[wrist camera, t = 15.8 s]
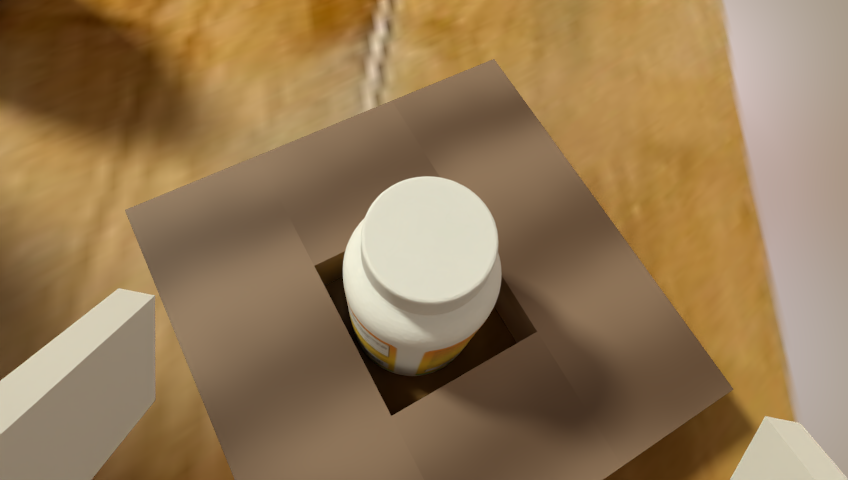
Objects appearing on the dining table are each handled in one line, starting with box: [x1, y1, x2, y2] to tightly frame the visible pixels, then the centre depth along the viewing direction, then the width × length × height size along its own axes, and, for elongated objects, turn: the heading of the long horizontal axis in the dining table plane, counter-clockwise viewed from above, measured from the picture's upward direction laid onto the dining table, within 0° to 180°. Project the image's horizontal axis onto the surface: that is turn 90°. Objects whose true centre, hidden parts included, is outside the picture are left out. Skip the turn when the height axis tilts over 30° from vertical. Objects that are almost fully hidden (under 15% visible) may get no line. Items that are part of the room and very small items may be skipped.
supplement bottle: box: [343, 176, 502, 376], centre depth 20 cm, size 5×5×10 cm
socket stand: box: [125, 59, 733, 480], centre depth 23 cm, size 18×18×3 cm
